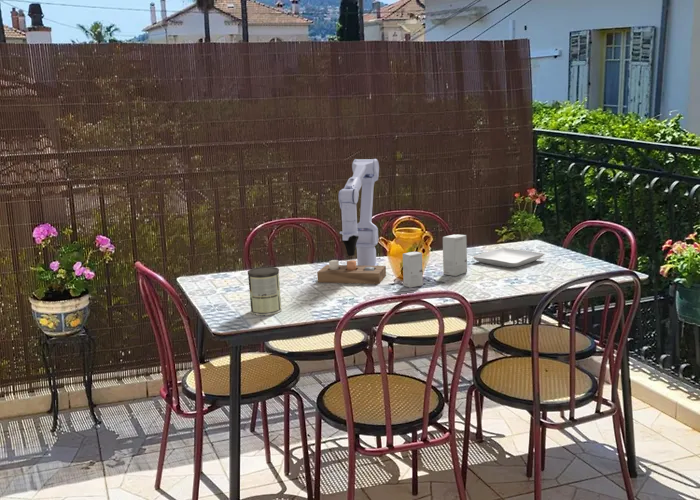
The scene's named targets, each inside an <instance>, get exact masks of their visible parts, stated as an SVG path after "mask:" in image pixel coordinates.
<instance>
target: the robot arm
mask: <svg viewBox="0 0 700 500" xmlns="http://www.w3.org/2000/svg"><path fill="white" fill-rule="evenodd" d="M351 168H352V173H353V174H352V176H351V177H349V178H348V180H347V181H346V183H345V185H344V187H343V188H342V189H340V190H339V191H338V203H339V209H340V210H341V228H342V229H341V230H342V231H341V230H340V231H339V234H340V235H341V236H342V238H341V241H342V243H343V244H344V246H345V251H346V254H347V256H348V257H353V256H355V253H356V259H357V260H356V264H357V265H365V266H379V265H380V264H379V262H377V250H376V247H375V246H377V245H378V242H379V228H378V226H377V225H376V224H374V223H373V222H372V221H373V204H374V187H375V182H377V181H379V177H380V176H379V175H380V163H379V160H378V159H377V158H371V159H370V158H369V159H368V158H366V159H357V158H354V160H353V161H352V164H351ZM360 191H361V195H360V194H359V193H360ZM359 195H360V196H361V198H360V213H359V216H360V217H359V222H358V216H357V215H358V214H357V213H358V212H357V204H358V202H359Z"/></svg>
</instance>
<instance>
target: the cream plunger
mask: <svg viewBox="0 0 700 500" xmlns="http://www.w3.org/2000/svg"><path fill="white" fill-rule="evenodd" d="M328 263H329V264H328V265H329V267H330V270H339V265H340V264H339V263H340V262H339V260H338V259H332V260H329V261H328Z"/></svg>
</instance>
